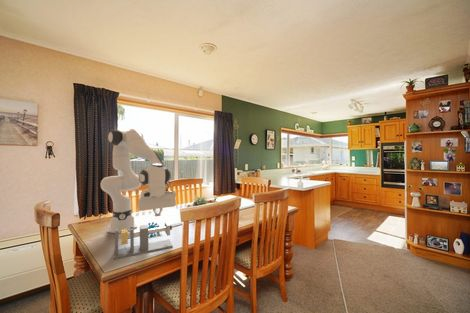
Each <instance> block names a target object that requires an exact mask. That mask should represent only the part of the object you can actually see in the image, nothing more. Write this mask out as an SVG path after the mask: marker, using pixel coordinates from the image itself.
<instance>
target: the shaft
mask: <svg viewBox="0 0 470 313" xmlns="http://www.w3.org/2000/svg"><path fill="white" fill-rule="evenodd" d="M171 230H173V226H172V225H171V224H170V222H169V221H168V220H167V221H164V226H161V227H160V226H159V227H156V228H152V229H148V234H149V235H151V234H150V233H153V234H154V233H155V234H157V232H159V233H160V232H161V233H162V232H165V234H166V236H168V237H169V236H171ZM127 235H128V238H130V237H131V234H130V231H128V232H127ZM137 236H140V230H135V231H134V237H137ZM118 240H121V233H118Z"/></svg>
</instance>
